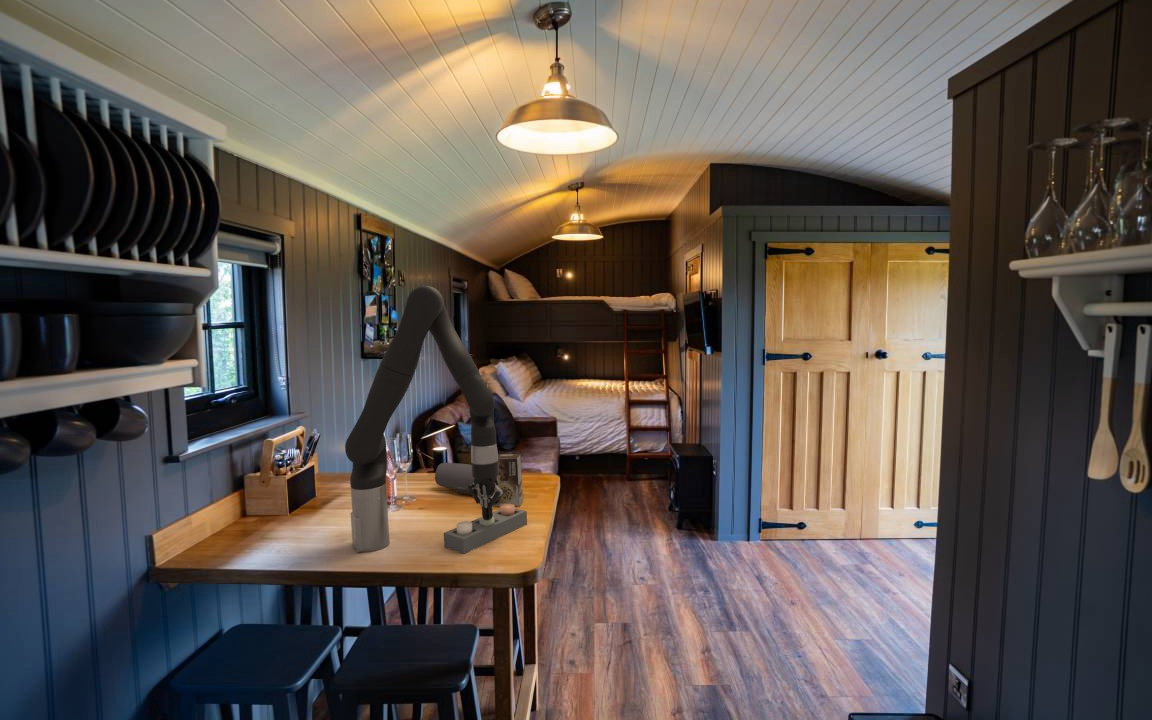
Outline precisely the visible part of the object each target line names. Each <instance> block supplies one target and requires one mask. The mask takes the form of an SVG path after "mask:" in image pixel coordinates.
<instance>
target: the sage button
mask: <svg viewBox="0 0 1152 720" xmlns="http://www.w3.org/2000/svg"><path fill="white" fill-rule="evenodd" d="M481 517H482V518H481ZM481 517H479V518H480V524H481V525H485V526H488V525H491V524H493V523H495V521H494V517H492V518H491V519H489V520H484V519H483V516H481Z"/></svg>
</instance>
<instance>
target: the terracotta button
mask: <svg viewBox="0 0 1152 720" xmlns="http://www.w3.org/2000/svg"><path fill="white" fill-rule="evenodd" d="M499 507H500V508H499V510H501V515H503V516H507V517H509V516H511V515H513V514H515V508H516V506H515V505H514V504H503V505H501V506H499Z"/></svg>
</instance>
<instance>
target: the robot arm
mask: <svg viewBox="0 0 1152 720" xmlns="http://www.w3.org/2000/svg"><path fill="white" fill-rule="evenodd" d="M400 319H401V320H400V321H399V322H400V323H399V325H398V327H397V330H396V332H395V335H394V336H393V338H392V340H391V341H390V343H389V346H388V347H387V349H386V350H385V353H384V355H383V357H382V359H381V361H380V363H379V366H378V368H377V371H376V373H375V375H374V378H373V381H372V383H371V386H370V389H369V392H368V395H367V397H366V401H365V404H364V406H363V408H362V409H363V410H362V412H361V413H360V414H359V418H358V419H357V421H356V423H355V424H354V426H353V428H352V430H351V431H350V433H349V435H348V436H347V439H346V441H345V444H344V450H345V455H346V457H347V458H348V460H349V461H350V462H351V463H352V471H351V474H350V478H349V483H350V492H351V493H350V495H351V499H350V501H351V512H350V525H351V541H352V542H351V543H352V547H353V548H354V550H355V551H356V553H362V552H365V553H367V552H368V553H369V552H374V551H378V550H381V549H384V548H386V547H388V545H389V544H390V528H389V527H390V526H389V511H388V494H387V491H388V490H387V471H388V461H387V460H388V459H387V458H388V455H387V441H386V440H387V439H386V436H385V433H386V429H387V426H388V424H389V421H390V419H391V417H392V416H393V414H394V413H395V411H396V410H397V408H398V407H399V405H400V404H401V402H402V400H403V398H404V397H405V395H406V393H407V391H408V389H409V387H410V385H411V382H412V380H413V377H414V375H415V372H416V371H417V367H418V364H419V360H420V356H421V352H422V348H423V344H424V341H425V339H426V336H427V335H428V332H430V334H431V335H432V338H433V339H434V340H435V343H436V344H437V347H438V350H439V352H440V354H441V356H442V357H441V358H442V359H443V361H444V363H445V365H446V367H447V369H448V371H449V373H450V375H451V377H452V378H453V380H454V381H455V383H456V385H457V387H459V388H460V390H461V393H462V395H463V397H464V399H465V401H466V404H467V405H468V407H469V415H470V424H471V426H470V441H471V443H470V444H471V445H470V446H471V449H470V459H471V460H470V461H471V464H470V465H472V477H473V478H474V483H472V484H471V485H469V486H468V488H469V490H470V492H471V494H470V495H471V496H472V497H473V499H474V501H475V503H476V504H477V505H478V504H479V505H480V507H481V517H483V519H484V520H489V519H491V518H492V516H493V514H492V513H493V512H494V511H493V507H495V506H494V505H497V504H498V502H499V501H500V499H501V497H502V496H503V494H504V493H505V491H504V489H500V488H499V487H498V481H497V476H498V474H499V470H498V454H499V453H498V447H497V446H498V445H497V431H496V424H495V415H494V414H495V413H494V412H495V407H496V401H495V397H494V395H493V394H492V392H491V391H490V389H489V388H488V386H487V383H485V381H484V380H483V378H482V377H481V374H480V371H479V369H478V368H477V365H476V363H475V362H474V359H473V358H472V356H471V354H470V353H469V351H468V350H467V348H466V346H465V344H464V343H463V341H462V339H461V338H460V337H459V335H458V333H457V331H456V330H455V327H454V325H453V323H452V321H451V319H450V316H449V313H448V311H447V308H446V305H445V302H444V297H443V295H442V293H441V291H439V290H438V289H436V288H435V287H433V286H430V285H420V286H417V287H415V288H413V289H412V290H411V291H410V292H409V294H408V296H407V299H406V302H405V307H404V309H403V313H402V316H401V318H400Z"/></svg>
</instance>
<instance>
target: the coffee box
mask: <svg viewBox="0 0 1152 720" xmlns="http://www.w3.org/2000/svg"><path fill="white" fill-rule="evenodd" d="M498 470H499V474H498V476H497V481H498V487H499V488H500V489H504V491H505V493H504V494H503V496H502V497H501V499H500V501H499V502H498V504H497V505H494V506H493V507H500V506H501V505H503V504H514V505H515V507H520V506H521V505H522V503H523V501H524V496H523V495H524V494H523V493H524V492H523V491H524V490H523V476H522V475H523V472H522V470H523V469H522V454H521V453H500V454H499V453H498Z"/></svg>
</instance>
